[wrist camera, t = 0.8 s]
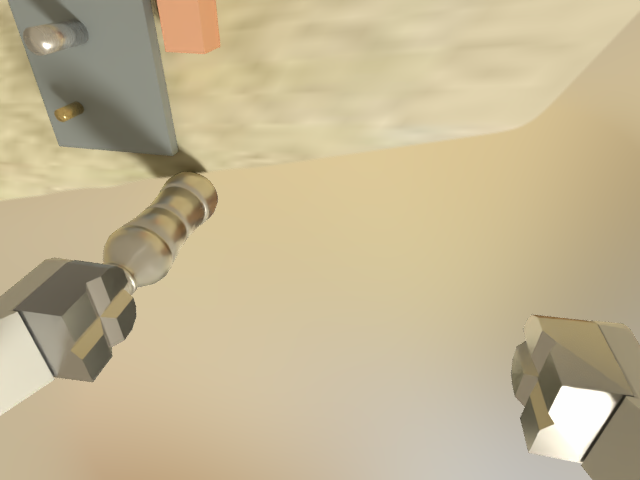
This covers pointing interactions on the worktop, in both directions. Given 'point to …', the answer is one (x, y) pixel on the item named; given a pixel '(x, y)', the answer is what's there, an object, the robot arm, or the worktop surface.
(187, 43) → the orange hollow block
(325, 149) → the worktop surface
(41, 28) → the post
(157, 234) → the plastic bottle
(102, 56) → the board
